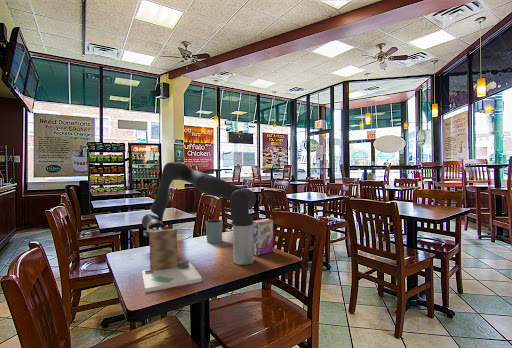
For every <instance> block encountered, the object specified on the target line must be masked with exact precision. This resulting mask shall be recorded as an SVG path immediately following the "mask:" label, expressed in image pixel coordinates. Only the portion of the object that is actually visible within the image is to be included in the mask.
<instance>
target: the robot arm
mask: <svg viewBox="0 0 512 348" xmlns="http://www.w3.org/2000/svg"><path fill="white" fill-rule="evenodd" d="M173 181H182V182H183V181H184V182H187V183H190V184H191V185H192V186H193V187H194V188H195V189H197V190H198V191H199V192H201V193H204V194H206V195H209V196H213V197H216V198H217V197H218V198H225V199H228V200H229V205H230V218H231V220H232V249H233V250H232V255H233V256H232V257H233V258H232V260H233V261H232V262H233V263H234V264H236V265H239V266H240V265H241V266H245V265H251V264H252V265H253V264H254V262H255V255H254V239H253V221H254V219H253V217H252V216H250V211H249V210H250V209H249V208H251V207H253V206H254V205H255V204H256V202H257V196H256V194H255V193H254V191H253V190H252V189H249V188H248V187H247V188H246V187H244V186H239V185H236V184H232V183H230V182H228V181H226V180H223V179H222V178H219V177H216V176H214V175H211V174H209V173H206V172H204V171H200V170H196V169H194V168H193V167H190V166H189V165H187V164H185V163H182V162H178V161H168V162H167V163H165V165H164V166H163V169H162V171H161V176H160V181H159V184H158V185H159V186H158V189H157V191H156V195H155V197H154V200H153V203H152V205H151V207H150V211H151V214H150V213H146V214H145V215H144V216H143V217H142V219H141V225H142V227H143V228H145V229H146V230H143V231H142V233H143V237H145V238H150V237H149V232H152V231H161V230H170V229H172V227H169V228H166V227H165V225H164V223H163V222H164V221H163V220H164V213H165V211H166V208H167V206H168V203H169V200H170V193H169V191H170V189H169V188H170V185H171V184H172V182H173ZM152 213H153V214H152ZM154 214H155V215H154Z"/></svg>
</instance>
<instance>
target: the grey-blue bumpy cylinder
mask: <svg viewBox="0 0 512 348" xmlns="http://www.w3.org/2000/svg"><path fill="white" fill-rule="evenodd" d="M223 223H224V221H223V220H222V219H208V220H205V230H206V231H205V232H206V243H208V244H210V245H211V244H213V245H214V244H220V243H222V242H223V226H224V225H223Z"/></svg>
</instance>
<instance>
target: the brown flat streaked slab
mask: <svg viewBox="0 0 512 348" xmlns="http://www.w3.org/2000/svg"><path fill="white" fill-rule="evenodd" d="M177 234H178V229H177V228H173V229H170V230H161V231H152V232H149V237H148V238H149V264H150V265H149V266H150V268H149V269H150V270H148V269H147V270H148V271H145V273H147V272H153V271H159V270H165V269H171V268H177V267H178V268H187V267H188V266H189V263H190V262H189V261H190V260H187V259H181V260H179V261H178V235H177ZM177 265H178V266H177Z"/></svg>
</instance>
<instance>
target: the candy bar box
mask: <svg viewBox="0 0 512 348" xmlns="http://www.w3.org/2000/svg"><path fill="white" fill-rule="evenodd" d="M253 239H254V257H255V256H256V257H258V256H262V255H266V254H269V253H272V252H274V219H270V218H264V219H258V220H253Z"/></svg>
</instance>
